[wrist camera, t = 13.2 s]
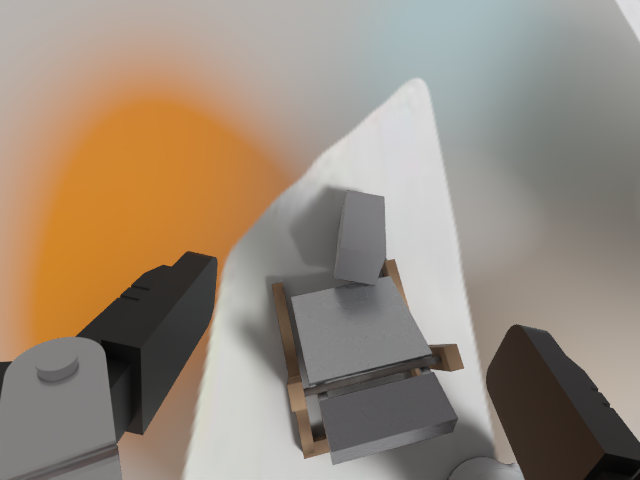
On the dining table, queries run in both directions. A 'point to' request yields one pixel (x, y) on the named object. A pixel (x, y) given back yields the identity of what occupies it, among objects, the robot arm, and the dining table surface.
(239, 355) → the dining table surface
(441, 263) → the dining table surface
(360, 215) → the basalt block
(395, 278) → the brown wooden frame
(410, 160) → the dining table surface
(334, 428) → the trapdoor plate
